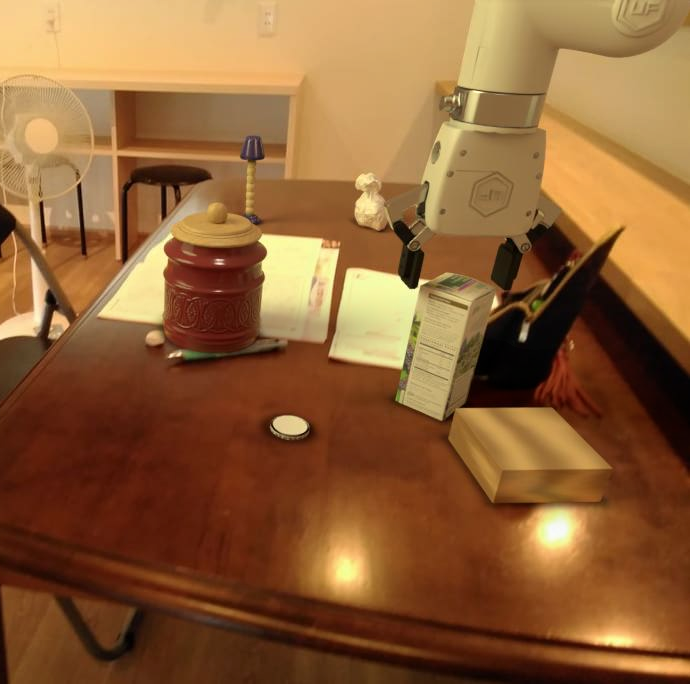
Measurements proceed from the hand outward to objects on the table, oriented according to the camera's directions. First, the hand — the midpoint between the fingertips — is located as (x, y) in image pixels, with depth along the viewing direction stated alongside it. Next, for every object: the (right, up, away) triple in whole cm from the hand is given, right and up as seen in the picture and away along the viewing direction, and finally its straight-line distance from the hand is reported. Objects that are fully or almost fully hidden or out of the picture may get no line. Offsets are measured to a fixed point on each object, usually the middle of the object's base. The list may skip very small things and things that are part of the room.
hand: (454, 284), depth 70 cm
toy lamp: (-14, +18, +66) cm, 69 cm away
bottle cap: (-17, -15, +1) cm, 23 cm away
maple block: (+5, -18, -4) cm, 19 cm away
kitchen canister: (-24, -5, +21) cm, 32 cm away
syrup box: (0, -13, +7) cm, 15 cm away
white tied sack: (+10, +17, +66) cm, 69 cm away
